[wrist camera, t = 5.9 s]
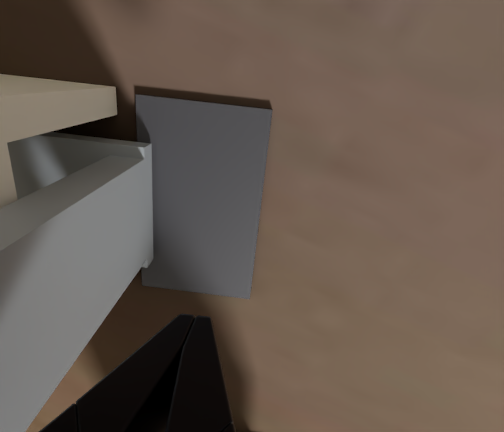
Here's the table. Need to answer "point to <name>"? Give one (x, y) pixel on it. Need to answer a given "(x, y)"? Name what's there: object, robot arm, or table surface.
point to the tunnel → (167, 174)
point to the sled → (65, 256)
